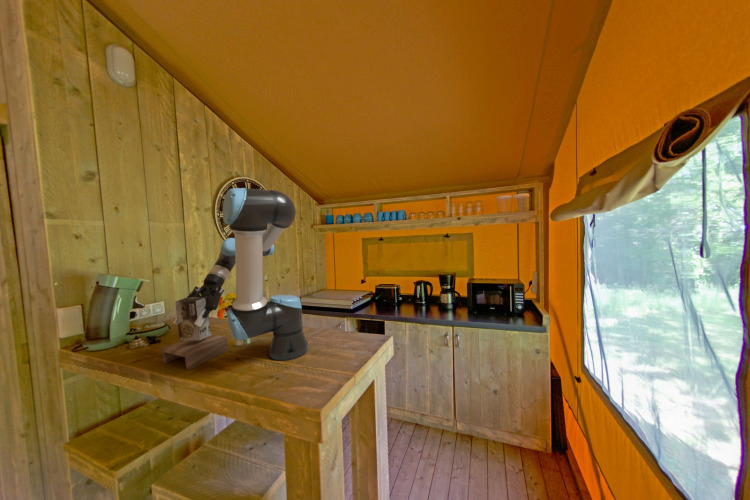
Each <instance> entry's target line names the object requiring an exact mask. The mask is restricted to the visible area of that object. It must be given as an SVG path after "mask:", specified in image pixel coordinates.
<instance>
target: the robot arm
mask: <svg viewBox="0 0 750 500" xmlns="http://www.w3.org/2000/svg"><path fill="white" fill-rule="evenodd" d="M296 216H297V209H296V205H295V203H294V202H293V200H292V199H291V198H290V197H289V196H288V195H287V194H286V193H284V192H282V191H279V190H275V189H274V190H272V189H271V190H270V189H259V188H247V187H246V188H245V187H241V188H240V187H237V188H236V187H234V188H229V189H228V190H227V191H226V193H225V195H224V198H223V204H222V220H223V221H222V222H223V223H224V224H225V225H228V226H229V227H228V229H229V231H231V232H232V233H233V234H234V237H229V238H226V239H225V240H224V241H223V242H222V244H221V246H220V251H219V255H218V258H217V260H216V262H214V264H213V265H212V267H211V268H210V270H209V271H208V274H207V275H206V276H205V278H203V285H202V286H201V287H200V286H199V287H198V286H195V287H194V288H193V289H192V291H191V292H190V293H189V294H188V295H187V296H186V298H187V297H207V302H206V309H203V310H202V312H201V313H200V315H199V317H198V318H197V320H196V321H195V323H194V324H195V325H197V326H198V327H201V325H202V324H203V322H204V320H205V319H206V318H207V317H208V315H209V316H210V313H211V312H212V311H217V309H218V307H219V304H220V301H221V298H222V295H223V293H224V292H225V289H224V288H222V287H223V286H224V284H225V281H226V280H227V279H228V277H229V275H230V273H231V272H232V270H233V269H234V267H235V284H236V285H235V287H236V288H235V289H236V292H235V293H236V299H234V301H233V302H232V304H231V308H230V309H228V310H226V317H227V322H228V325H229V329H230V331H231V334H232V337H233V338H234V340H236V341H243V340H246V339H247V340H249V339H251V338H254V337H258V336H261V335H264V334H269V333H272V338H271V342H270V347H269V350H268V352H269V357H270V358H271V360H275V361H287V360H288V361H289V360H293V359H294V360H295V359H296V358H300V357H301V356H303V355H305V354H306V353H307V352H308V351H309V342H308V340H307V339H306V338H307V337H306V336H305V333H304V331H303V330H304V327H303V311H302V308H303V306H302V302H301V301H302V300H301V298H300V297H299V296H296V295H292V294H291V295H290V294H279V295H277V294H276V295H273V296H271V297H270V298H269V301H268V299H267V298H266V297H264V287H263V286H264V284H263V283H264V281H263V279H264V278H263V275H264V274H263V273H264V272H263V271H264V270H263V268H264V267H263V257H267V256H272V255H273V254H274V253H275V243H276V241H277V240H278V239H279V237H280V236H281V235H282V233H283V232H284V231H285V229H287V228H289V227H291V225H293V223H294V221H295V219H296ZM172 323H173V324H175V325H176V326H178V322H177V317H176V318H175V319H174V321H173V322H172Z"/></svg>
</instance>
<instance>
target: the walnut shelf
mask: <svg viewBox="0 0 750 500" xmlns="http://www.w3.org/2000/svg"><path fill="white" fill-rule="evenodd" d="M228 339H229V338H228V336H223V335H218V334H212V333H211V335H209V336H207V337H205V338H204V339H202V340H195V341H180V340H179V341H176V342H174V343H172V344H168V345H166V346H163V347H161V352H162V353H161V354H162V360H163V361H162V362H163V363H164V364H167V363H169V362H172V361H174V360H176V359H179V358H184V361H185V369H186V370H188V371H189V370H191V369H194V368H196V367H197V366H199V365H202V364H204V363H205V362H208V361H211V360H212V359H214V358H216V357H218V356H220V355H223V354H224V353H227V352H229V341H228Z"/></svg>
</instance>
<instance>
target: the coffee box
mask: <svg viewBox="0 0 750 500" xmlns="http://www.w3.org/2000/svg"><path fill="white" fill-rule="evenodd" d="M206 302H207V297H187V296H186V297H184V298H181V299H179V300H177V301H174V303H175V313H176V314H175V315H176V318H177V322H178V325H177V329H178V336H179V339H178V340H179V341H195V340H202V339H204V338H205V337H207V336H209V335H211V334H212V333H211V324H210V314H209V315H208V317H207V318H206V319H205V320H204V322H203V324H202V325H201V327H198V326H197V325H195V324H194V323H195V321H196V320H197V318H198V317H199V315H200V313H201V312H202V310H203V309H206Z"/></svg>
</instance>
